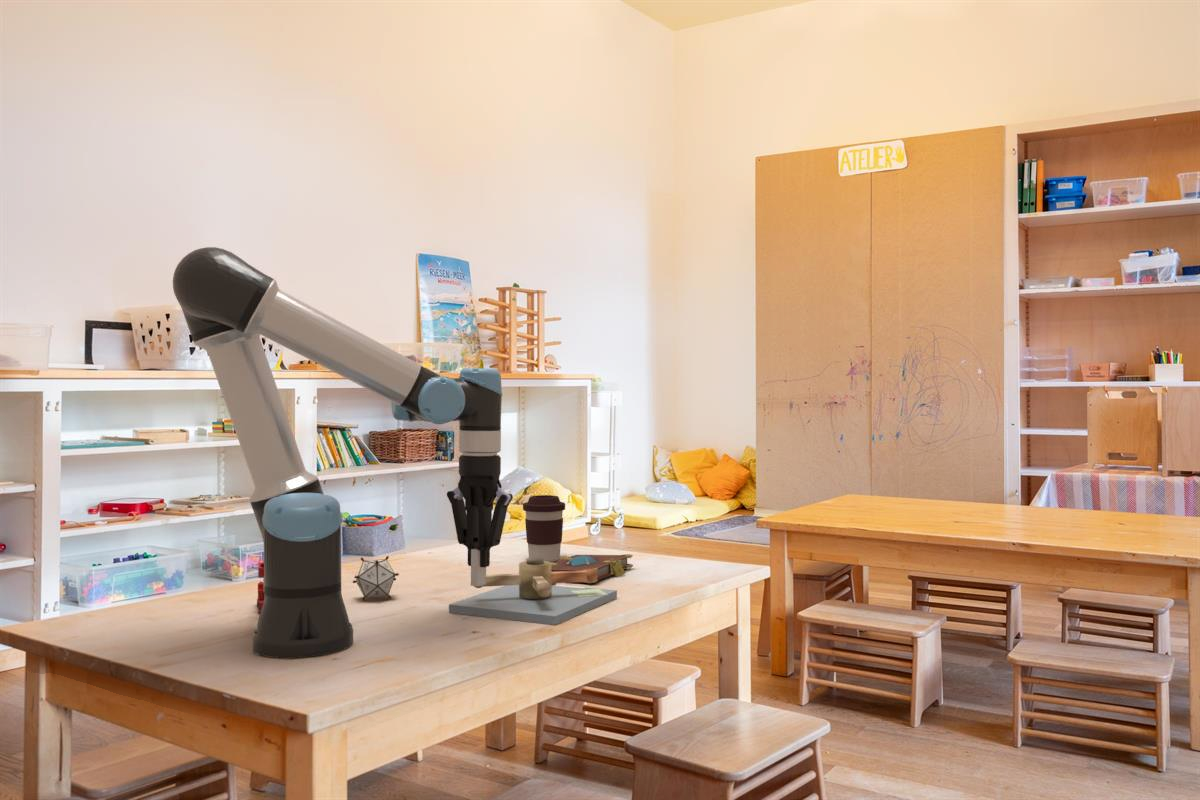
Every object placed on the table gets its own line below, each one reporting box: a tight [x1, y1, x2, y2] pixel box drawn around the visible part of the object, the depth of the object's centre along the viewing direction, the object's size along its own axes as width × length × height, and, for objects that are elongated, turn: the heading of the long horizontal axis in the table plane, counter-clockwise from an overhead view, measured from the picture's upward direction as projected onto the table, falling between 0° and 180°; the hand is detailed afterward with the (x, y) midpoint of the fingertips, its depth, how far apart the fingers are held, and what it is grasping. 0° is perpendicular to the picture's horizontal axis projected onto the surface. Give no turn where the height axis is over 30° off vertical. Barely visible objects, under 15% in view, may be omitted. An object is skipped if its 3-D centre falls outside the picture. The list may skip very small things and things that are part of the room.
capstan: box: [473, 557, 598, 599], centre depth 184 cm, size 24×24×7 cm
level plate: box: [448, 583, 618, 626], centre depth 184 cm, size 24×22×3 cm
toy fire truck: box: [256, 561, 264, 614], centre depth 181 cm, size 3×14×10 cm, turn 21°
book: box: [551, 553, 634, 584], centre depth 213 cm, size 16×25×5 cm, turn 155°
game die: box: [352, 555, 400, 602], centre depth 191 cm, size 9×8×10 cm
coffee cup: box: [522, 494, 566, 563], centre depth 233 cm, size 10×10×15 cm
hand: (478, 584), depth 179 cm, fingers closed
